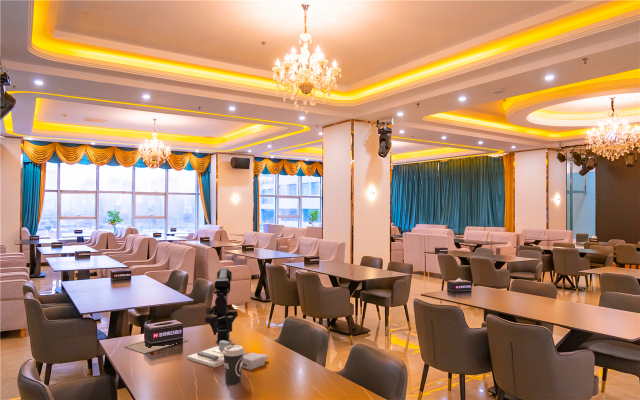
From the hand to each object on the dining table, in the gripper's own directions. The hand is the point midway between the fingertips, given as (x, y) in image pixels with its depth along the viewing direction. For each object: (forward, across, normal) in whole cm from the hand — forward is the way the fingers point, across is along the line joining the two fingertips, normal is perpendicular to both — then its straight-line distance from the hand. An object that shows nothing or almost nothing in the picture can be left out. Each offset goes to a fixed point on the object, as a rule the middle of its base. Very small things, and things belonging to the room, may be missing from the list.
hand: (221, 332), depth 226 cm
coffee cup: (+11, +23, +31) cm, 40 cm away
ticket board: (+11, +4, +1) cm, 12 cm away
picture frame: (+12, +8, -43) cm, 45 cm away
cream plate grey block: (+10, -1, +2) cm, 10 cm away
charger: (+12, 0, +24) cm, 27 cm away
